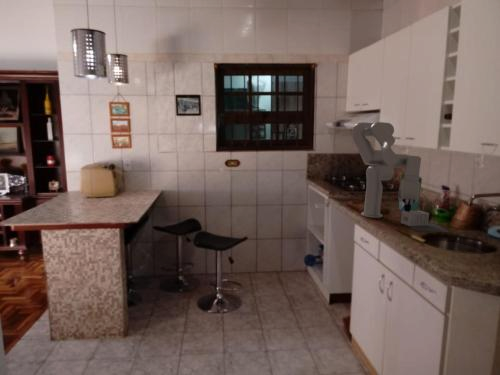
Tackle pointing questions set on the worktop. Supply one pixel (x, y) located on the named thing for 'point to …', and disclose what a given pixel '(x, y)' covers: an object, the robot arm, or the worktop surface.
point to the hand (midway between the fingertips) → (407, 211)
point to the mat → (429, 228)
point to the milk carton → (414, 205)
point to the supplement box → (415, 218)
